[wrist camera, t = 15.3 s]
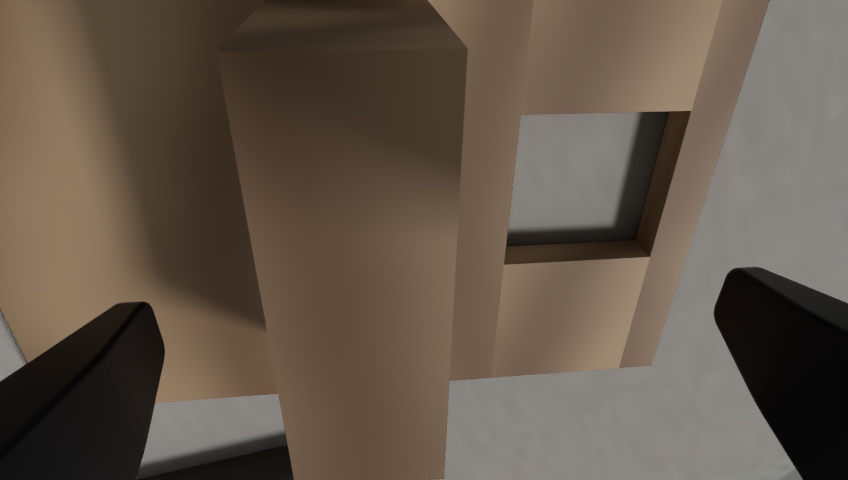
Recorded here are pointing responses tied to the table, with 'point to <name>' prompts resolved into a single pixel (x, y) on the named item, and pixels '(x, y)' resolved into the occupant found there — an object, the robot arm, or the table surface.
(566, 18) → the lid
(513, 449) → the table surface
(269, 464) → the hardcover book
